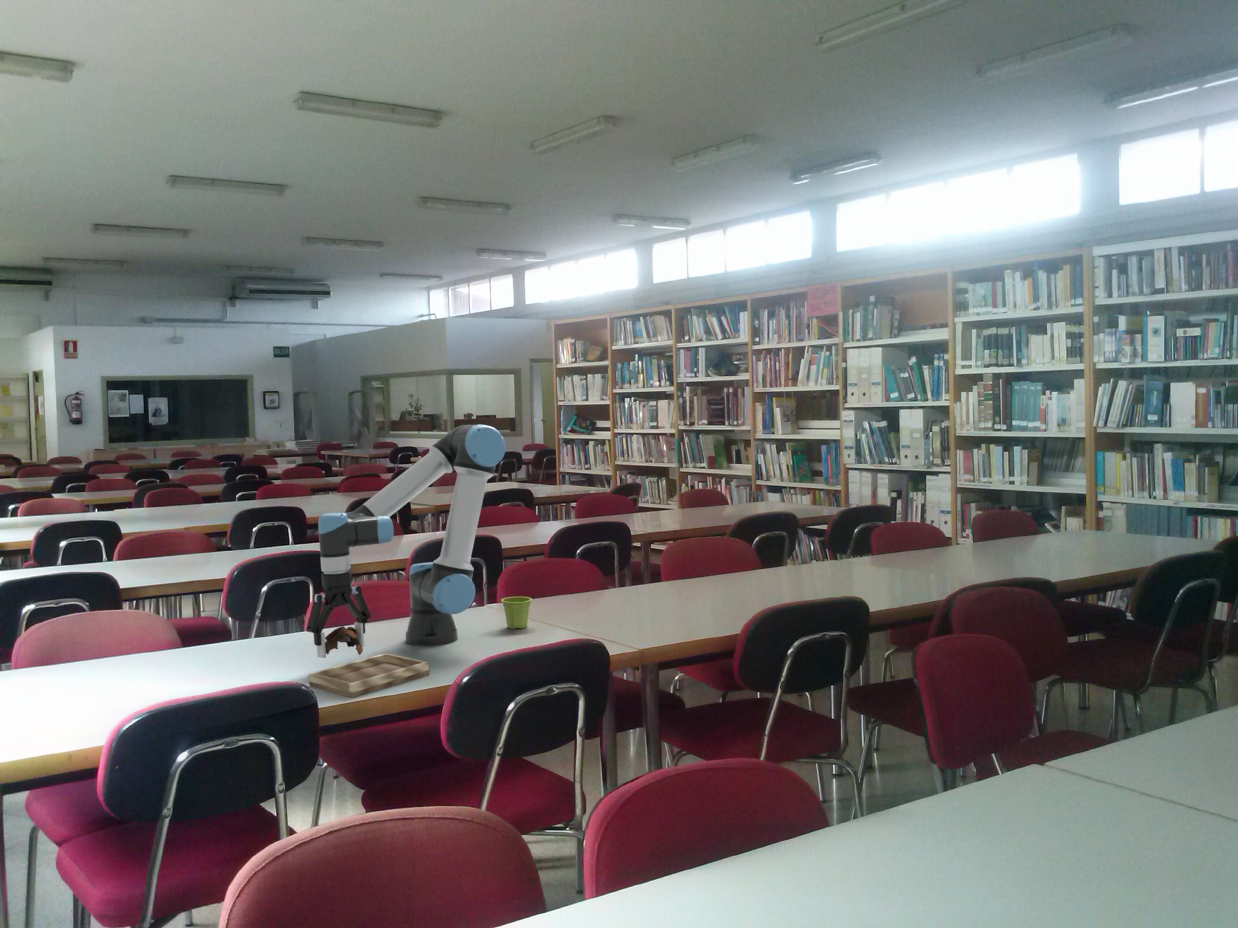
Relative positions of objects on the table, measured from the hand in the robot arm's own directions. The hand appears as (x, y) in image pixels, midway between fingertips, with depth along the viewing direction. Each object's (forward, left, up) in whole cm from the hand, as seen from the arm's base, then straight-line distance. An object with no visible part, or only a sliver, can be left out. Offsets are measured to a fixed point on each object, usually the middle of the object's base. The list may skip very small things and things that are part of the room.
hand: (341, 651), depth 263 cm
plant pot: (-60, +8, -4) cm, 60 cm away
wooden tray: (+4, +18, -4) cm, 19 cm away
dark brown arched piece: (0, +1, 0) cm, 1 cm away
